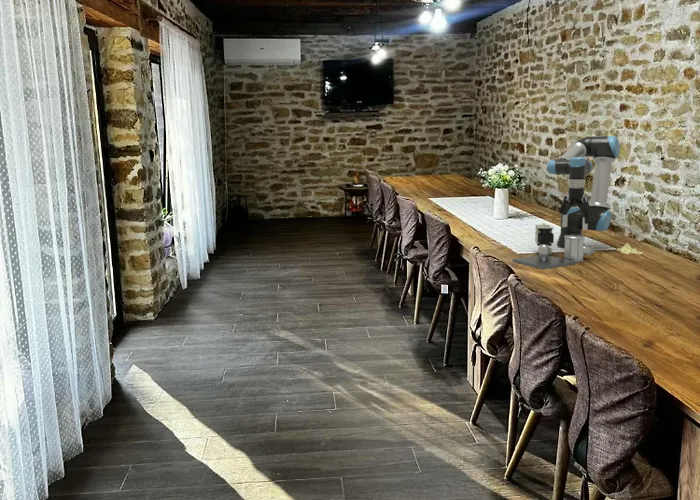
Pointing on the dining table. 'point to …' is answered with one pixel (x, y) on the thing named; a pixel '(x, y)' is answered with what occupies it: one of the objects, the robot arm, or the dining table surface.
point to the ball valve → (544, 236)
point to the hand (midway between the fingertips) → (574, 228)
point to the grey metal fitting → (576, 248)
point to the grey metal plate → (543, 260)
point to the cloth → (628, 249)
